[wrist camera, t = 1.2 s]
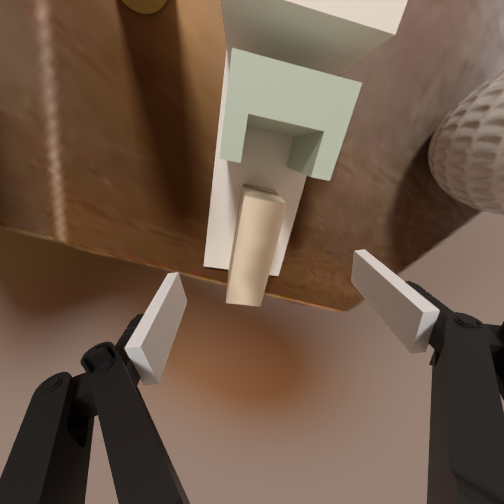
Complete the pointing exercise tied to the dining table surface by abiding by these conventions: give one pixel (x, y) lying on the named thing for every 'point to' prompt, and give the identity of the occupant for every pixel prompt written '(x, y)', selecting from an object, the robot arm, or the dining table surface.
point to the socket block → (288, 110)
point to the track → (298, 53)
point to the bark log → (145, 5)
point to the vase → (472, 149)
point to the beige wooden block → (254, 244)
